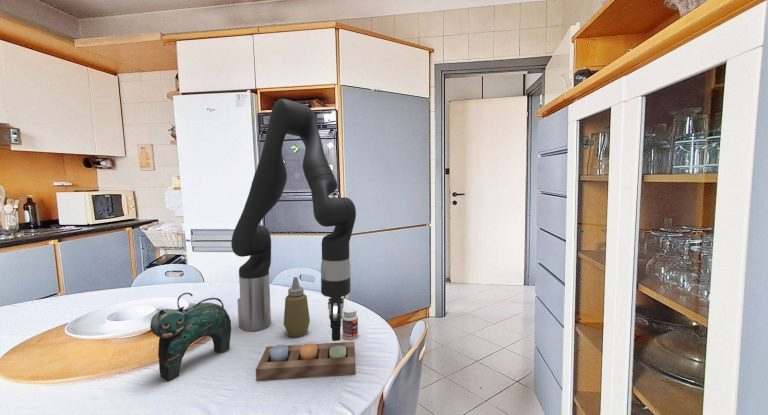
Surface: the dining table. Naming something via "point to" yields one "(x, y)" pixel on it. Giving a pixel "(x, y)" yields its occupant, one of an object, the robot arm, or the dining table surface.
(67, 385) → the dining table surface
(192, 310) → the ceramic cat
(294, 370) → the walnut button panel
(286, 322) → the squeeze bottle
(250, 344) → the dining table surface
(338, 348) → the sage green button
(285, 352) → the slate blue button
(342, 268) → the robot arm
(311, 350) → the orange button
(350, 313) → the pill bottle
